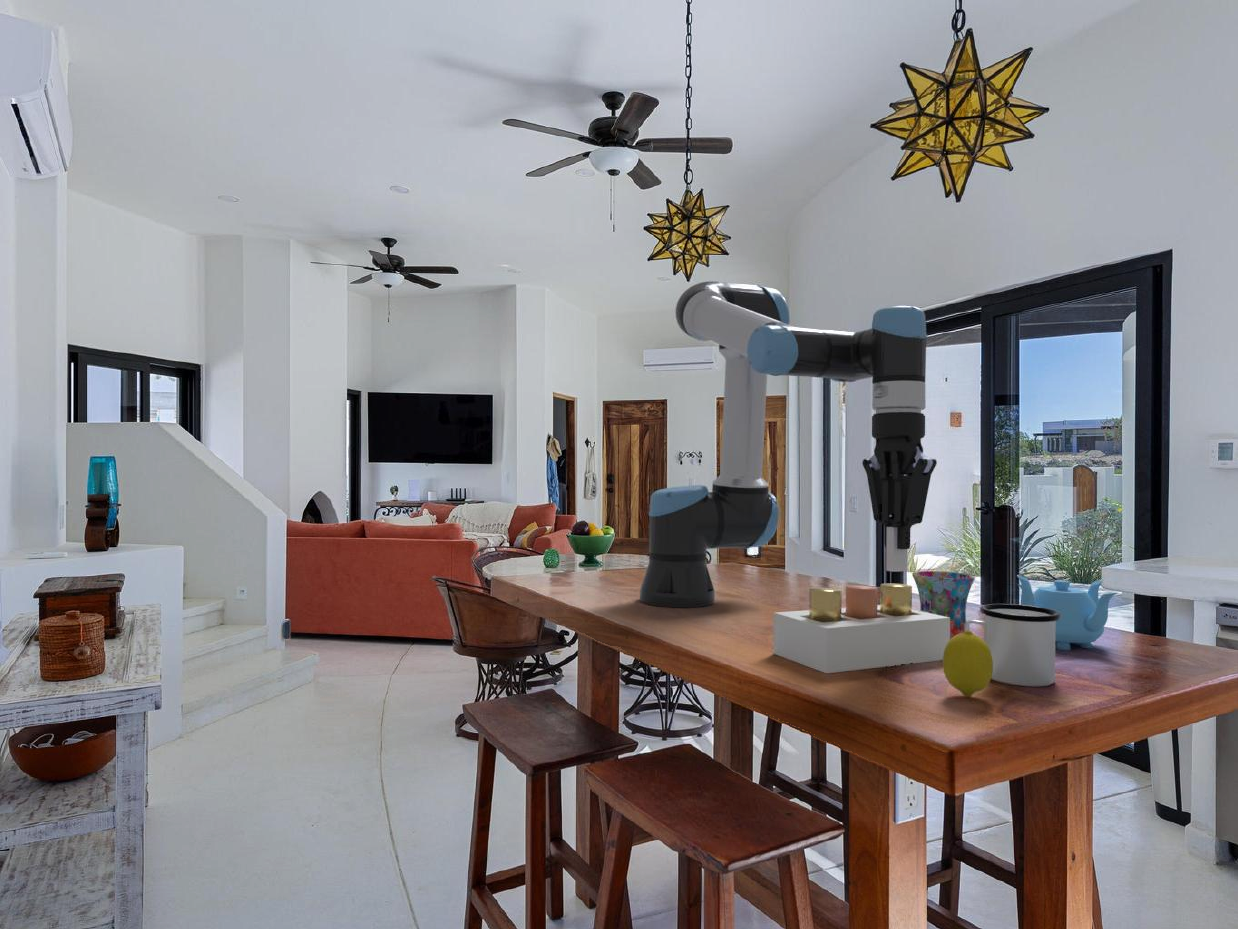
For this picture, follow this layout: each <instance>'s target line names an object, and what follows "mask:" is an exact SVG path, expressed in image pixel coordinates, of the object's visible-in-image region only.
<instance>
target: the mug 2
mask: <svg viewBox="0 0 1238 929" xmlns="http://www.w3.org/2000/svg"><path fill="white" fill-rule="evenodd" d="M979 612H980V613H981V614H982V615H984V620H980V619H979V620H977V619H970V620H966V623H965V631H966V630H968V631H970V625H971V624H976V625H980V626H984V627H983V628H984V631H983V633H984V634H983V636H984V637H983V638H984V639H983V640H984V641H985V642H986V644H987V645H988V647H989V649H990V651H991V655H992V660H993V673H992V677H991V680H993V681H994V682H998V683H1002V684H1005V685H1011V686H1018V687H1029V688H1031V687H1034V688H1037V687H1038V688H1039V687H1040V688H1041V687H1046V686H1048V687H1049V686H1050V685H1052V684H1054V683H1055V682H1056V641H1055V634H1056V621H1057V620H1059V619H1060V618H1061V615H1060V613H1059V612H1057V611H1055V610H1051V609H1047V608H1042V607H1036V606H1028V605H1021V604H1013V603H992V604H991V603H989V604H983V605H981V606H980V609H979Z"/></svg>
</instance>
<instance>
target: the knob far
mask: <svg viewBox="0 0 1238 929" xmlns="http://www.w3.org/2000/svg"><path fill="white" fill-rule="evenodd" d="M912 600H913V586H912V585H910V584H903V583H891V582H889V583H886V582H885V583H881V584H880V601H879V605H880V613H882V614H886V615H890V616H894V617H897V616H909V615H912V609H913V605H912V604H913V603H912Z"/></svg>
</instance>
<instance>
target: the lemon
mask: <svg viewBox="0 0 1238 929" xmlns="http://www.w3.org/2000/svg"><path fill="white" fill-rule="evenodd" d="M942 670H943V674H944V676H945V678H946V681H948V683H949V684H950V686H952V687H953V688H954V689H956V690H958V691H959V692H960V693H961V694H962V695H963V696H964V697H966V698H970V697H972V696H973V695H974V694H975V693H977V692H981V691H982V690H985V688H986V687H987V686H988V685H989V683H990V682H991V680H992V679H991V677H992V673H993V660H992V655H991V651H990V649H989V647H988V645H987V644H986V642H985V641H984V639H983V638H981V637H980V636H978V635H977V634H974V633H973V631H972V630H969V631H968V630H966V631H964V632H963V633H961V634H958V635H956V636H954V637H953V638H951V639H950V640H949V642H948V643H947V645H946V647H945V650H944V655H943V660H942Z"/></svg>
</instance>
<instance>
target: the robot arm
mask: <svg viewBox="0 0 1238 929" xmlns="http://www.w3.org/2000/svg"><path fill="white" fill-rule="evenodd" d="M789 310H790V309H789V305H788V304H787V301H786V299H785V297H784V296H783V294H782V293H781V292H780V291H779V290H777V289H775V288H773V287H768V286H763V285H760V284H758V285H757V284H756V285H755V284H742V283H732V282H720V281H710V280H709V281H703V282H699V283H697V284H696V283H695V284H694V285H692V286H690V287H689V288H687V289H686V290H685V291H684V292H683V293H682V294H681V295H680V297H679V298H678V301H677V302H676V306H675V320H676V322H677V325H678V327H679V328H680V330H682V332H684V334H686V335H687V336H690V337H691V338H693V339H695V340H698V341H702V342H708V341H712V342H713V343H715V344H717V345H718V352H719V354H721V356H722V357H724V359H725V366H724V367H725V370H724V390H723V392H724V393H723V409H722V410H723V412H722V428H721V430H722V431H721V434H722V435H721V451H720V470H719V471H720V473H719V476H717V477H716V478H715V479H714V480H713V481H712V486H711V487H712V488H711V489H712V490H711V491H709V489H708V487H707V486H706V485H702V484H701V485H699V484H698V485H697V484H696V485H687V486H685V485H683V486H676V487H675V486H674V487H666V488H661V489H658V490H656V491H654V492H653V493H652V494H651V495H650V501H649V502H650V503H649V510H648V516H649V524H648V525H649V528H648V529H649V533H648V534H649V535H648V537H649V539H648V541H649V542H648V553H649V554H648V564H647V566H646V571H645V574H644V577H643V580H642V582H641V586H640V590H639V601H640V602H641V603H644V604H648V605H652V606H656V607H657V606H658V607H668V608H671V607H672V608H697V607H705V606H710V605H713V604H715V601H716V600H715V599H716V597H715V596H716V595H715V587H714V585H713V582H712V578H711V574H710V572H709V568H708V565H707V549H709V550H711V549H744V550H746V549H747V550H748V549H751V548H760V547H763V546H765V545H767V544H768V543H769V542H770V540H771V539H772V538H774V535H775V533H776V531H777V528H778V525H779V520H780V507H779V505H777V504H778V499H777V498H776V496H775V495H774V494H773V493H771V492H769V490H770V485H769V484H768V482H767V481H766V480H765V479H764V478H763V464H764V460H763V459H764V445H765V444H764V443H765V442H764V441H765V424H766V402H767V384H768V375H769V376H774V377H779V376H789V377H792V376H793V377H809V378H810V377H811V378H821V379H830V380H831V381H834V382H837V383H842V382H845V383H846V382H848V383H852V382H857V381H860V380H865V379H870V378H871V383H872V391H871V392H872V396H871V398H872V401H871V402H872V403H871V404H872V405H871V406H872V408H871V409H872V410H873V411H876V413H874V414H873V415H872V416H871V436H872V438H873V439H875V440H876V441H875V447H874V450H873V453H874V454H873V455H872V456H871V457H870V458H864V459H862V461H861V462H862V467H863V469H864V471H865V473H866V476H867V477H866V478H867V483H868V490H869V497H870V503H871V509H872V517H873V519H874V521H875V522H880V523H881V524H882V525H883V527H884V531H883V532H884V533H883V534H884V536H883V538H884V542H883V544H884V548H885V549H886V554H885V555H886V558H885V560H886V561H885V562H886V563H885V565H886V568H885V569H886V571H887V572H891V573H892V572H894V573H895V572H898V573H899V572H908V568H909V567H908V565H909V564H908V563H909V562H908V558H909V557H908V556H909V552H908V550H910V548H911V529H912V527H913V526H914V525H917V524H921V523H922V522H923V519H924V513H925V509H926V503H927V498H928V493H929V487H930V483H931V477H932V474H933V472H934V470H935V469H936V467H937V464H938V462H937V459H936V458H931V457H930V458H929V457H928V456H927V455H926V454H925V453H924V447H923V445H922V442H921V441H922V439H923V438H925V436H926V415H925V413H923V412H922V411H923V410H925V409H926V404H927V402H926V372H927V371H926V369H927V366H926V364H927V338H928V334H927V322H926V313H925V312H924V310H923V309H921V308H919V307H916V306H907V305H897V306H887V307H883V308H880V309H878V310H876V311H875V312H874V313H873V316H872V324H871V328H869V329H865V330H864V329H863V330H861V331H843V330H829V329H819V328H817V329H815V328H809V327H808V328H807V327H799V326H794V325H791V324H790V322H791V321H790V311H789Z"/></svg>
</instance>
